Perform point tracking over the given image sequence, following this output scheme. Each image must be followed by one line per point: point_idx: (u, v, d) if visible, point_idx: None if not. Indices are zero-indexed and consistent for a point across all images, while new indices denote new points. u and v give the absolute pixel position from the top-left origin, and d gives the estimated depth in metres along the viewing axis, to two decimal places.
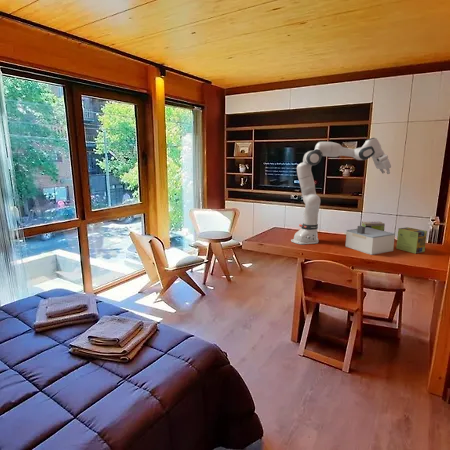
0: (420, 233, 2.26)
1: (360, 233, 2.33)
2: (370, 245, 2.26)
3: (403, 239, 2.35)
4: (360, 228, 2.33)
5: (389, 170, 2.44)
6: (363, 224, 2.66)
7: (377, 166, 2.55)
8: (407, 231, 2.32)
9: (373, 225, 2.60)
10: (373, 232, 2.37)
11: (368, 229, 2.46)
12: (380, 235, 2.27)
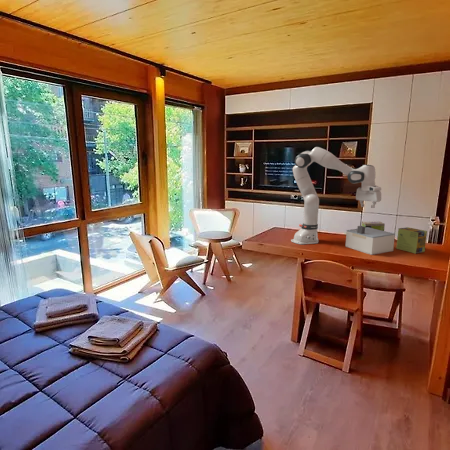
0: (420, 233, 2.26)
1: (360, 233, 2.33)
2: (370, 245, 2.26)
3: (403, 239, 2.35)
4: (360, 228, 2.33)
5: None
6: (363, 224, 2.66)
7: (360, 197, 2.35)
8: (407, 231, 2.32)
9: (373, 225, 2.60)
10: (373, 232, 2.37)
11: (368, 229, 2.46)
12: (380, 235, 2.27)
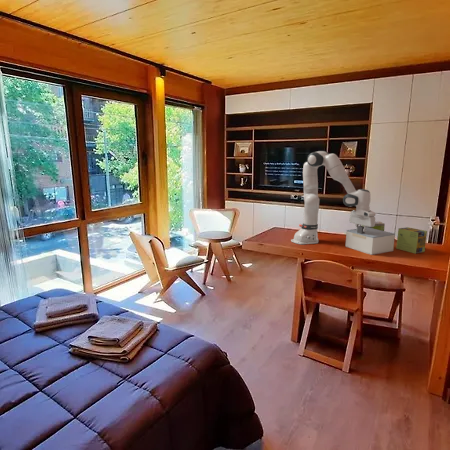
0: (420, 233, 2.26)
1: (360, 233, 2.33)
2: (370, 245, 2.26)
3: (403, 239, 2.35)
4: (360, 228, 2.33)
5: (366, 228, 2.31)
6: None
7: (353, 220, 2.37)
8: (407, 231, 2.32)
9: None
10: (373, 232, 2.37)
11: (368, 229, 2.46)
12: (380, 235, 2.27)
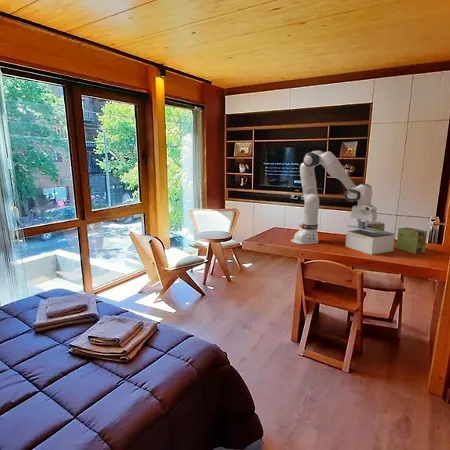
0: (420, 233, 2.26)
1: (361, 228, 2.32)
2: (370, 245, 2.26)
3: (403, 239, 2.35)
4: (362, 223, 2.32)
5: None
6: None
7: (355, 215, 2.37)
8: (407, 231, 2.32)
9: (373, 225, 2.60)
10: (374, 230, 2.36)
11: (368, 228, 2.46)
12: (381, 232, 2.27)
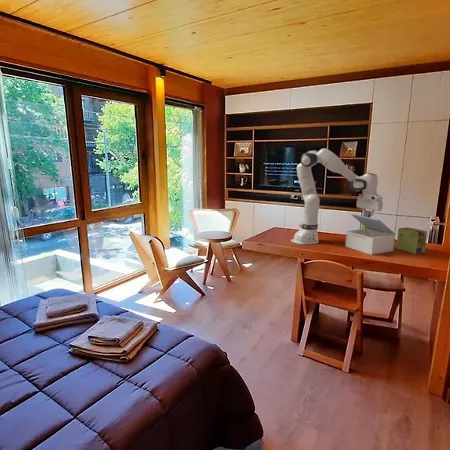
0: (420, 233, 2.26)
1: (366, 216, 2.32)
2: (370, 245, 2.26)
3: (403, 239, 2.35)
4: (368, 212, 2.33)
5: (373, 212, 2.31)
6: None
7: (360, 204, 2.37)
8: (407, 231, 2.32)
9: None
10: None
11: None
12: None
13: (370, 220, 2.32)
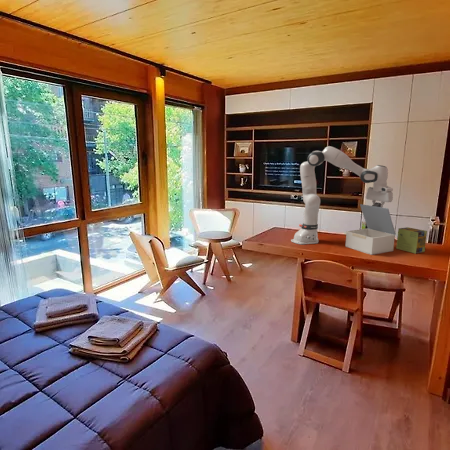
0: (420, 233, 2.26)
1: (375, 206, 2.34)
2: (370, 245, 2.26)
3: (403, 239, 2.35)
4: (378, 203, 2.36)
5: (383, 204, 2.34)
6: (363, 224, 2.66)
7: (370, 196, 2.40)
8: (407, 231, 2.32)
9: None
10: None
11: None
12: None
13: (378, 211, 2.33)
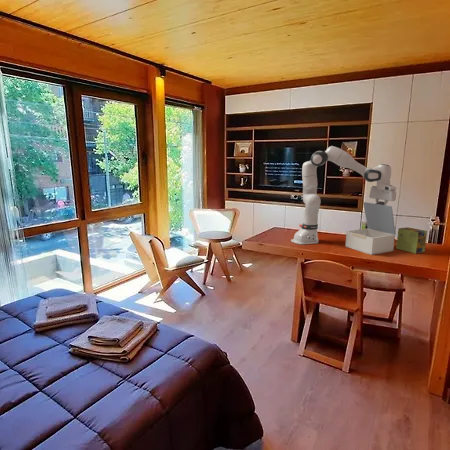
0: (420, 233, 2.26)
1: (378, 204, 2.35)
2: (370, 245, 2.26)
3: (403, 239, 2.35)
4: (381, 202, 2.37)
5: (386, 203, 2.35)
6: (363, 224, 2.66)
7: (373, 195, 2.41)
8: (407, 231, 2.32)
9: None
10: None
11: None
12: None
13: (381, 209, 2.34)
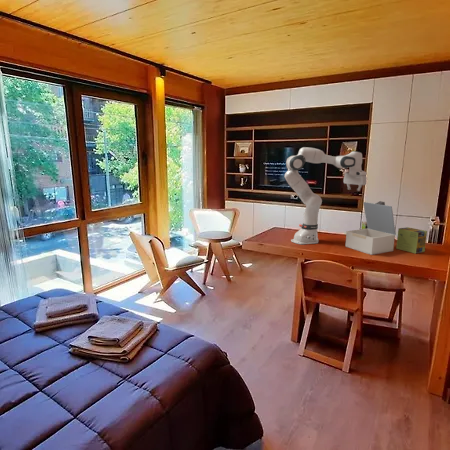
0: (420, 233, 2.26)
1: (378, 204, 2.36)
2: (370, 245, 2.26)
3: (403, 239, 2.35)
4: (381, 202, 2.37)
5: (360, 187, 2.51)
6: (363, 224, 2.66)
7: (347, 181, 2.59)
8: (407, 231, 2.32)
9: None
10: None
11: None
12: None
13: (381, 209, 2.34)
